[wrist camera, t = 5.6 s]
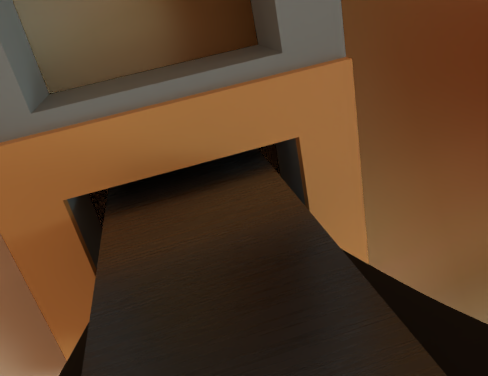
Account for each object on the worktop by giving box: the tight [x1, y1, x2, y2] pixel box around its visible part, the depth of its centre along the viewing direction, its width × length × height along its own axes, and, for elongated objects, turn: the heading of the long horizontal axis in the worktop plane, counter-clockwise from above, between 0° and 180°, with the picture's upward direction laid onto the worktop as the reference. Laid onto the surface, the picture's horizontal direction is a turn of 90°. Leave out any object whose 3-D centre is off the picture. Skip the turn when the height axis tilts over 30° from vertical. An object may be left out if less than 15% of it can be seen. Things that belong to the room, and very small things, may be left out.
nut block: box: [81, 148, 447, 376], centre depth 8 cm, size 4×4×8 cm
